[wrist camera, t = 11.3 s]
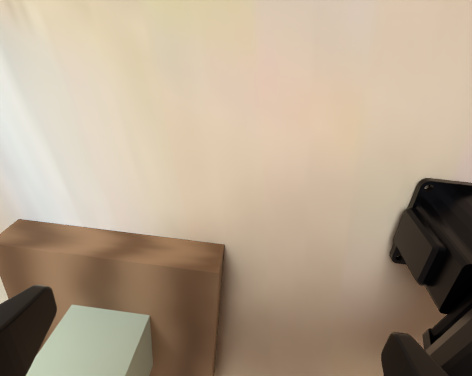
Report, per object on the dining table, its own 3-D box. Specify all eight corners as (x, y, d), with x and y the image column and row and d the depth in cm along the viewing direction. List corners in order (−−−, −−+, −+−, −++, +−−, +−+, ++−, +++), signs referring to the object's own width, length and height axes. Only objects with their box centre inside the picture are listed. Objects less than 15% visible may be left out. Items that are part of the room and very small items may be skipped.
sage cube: (149, 315, 24) (115, 400, 18) (153, 364, 26) (124, 449, 21) (71, 304, 24) (15, 385, 19) (83, 354, 27) (37, 436, 21)
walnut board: (224, 244, 24) (218, 273, 21) (214, 372, 31) (209, 405, 29) (18, 219, 24) (-12, 243, 22) (57, 350, 32) (38, 380, 29)
